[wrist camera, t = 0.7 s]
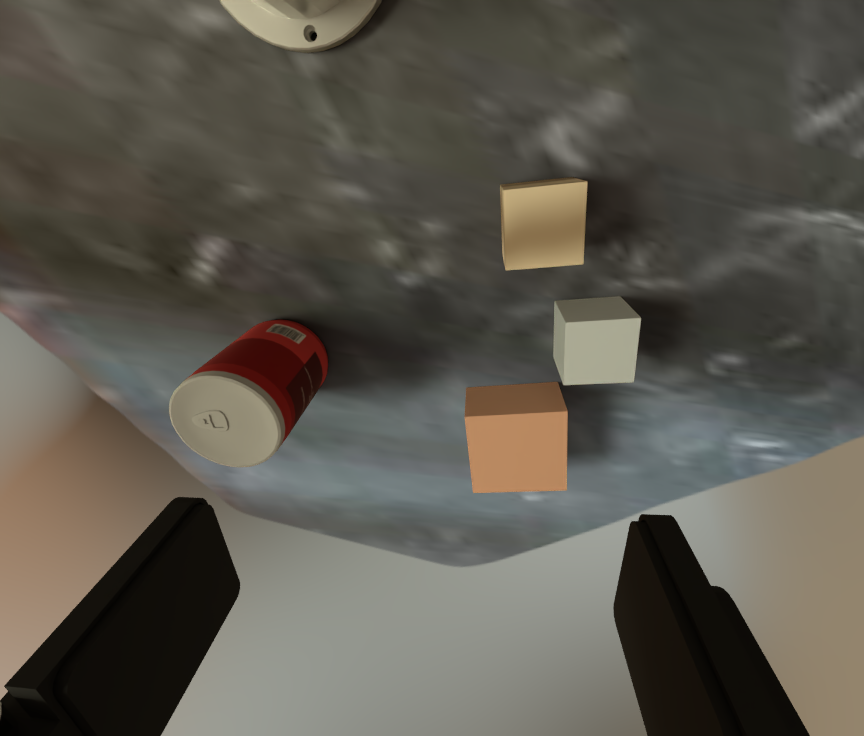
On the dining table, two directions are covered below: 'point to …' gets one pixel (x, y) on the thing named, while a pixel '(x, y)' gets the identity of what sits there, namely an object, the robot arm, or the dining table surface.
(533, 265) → the maple cube
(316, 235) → the dining table surface
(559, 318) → the pale green-grey cube
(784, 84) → the dining table surface
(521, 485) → the terracotta block
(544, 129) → the dining table surface
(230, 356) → the canned food
